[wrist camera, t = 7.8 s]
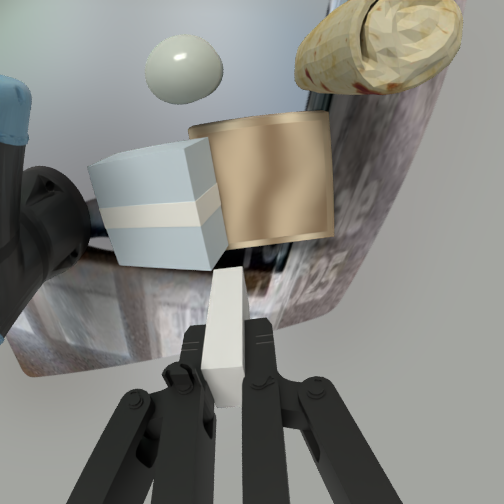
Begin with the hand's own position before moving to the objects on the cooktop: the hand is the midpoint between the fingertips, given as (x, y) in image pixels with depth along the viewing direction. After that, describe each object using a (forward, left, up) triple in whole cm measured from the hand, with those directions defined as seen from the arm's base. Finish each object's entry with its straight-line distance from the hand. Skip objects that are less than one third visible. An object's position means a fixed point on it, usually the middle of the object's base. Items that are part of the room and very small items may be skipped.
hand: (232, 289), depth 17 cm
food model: (+11, +13, -21) cm, 27 cm away
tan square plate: (+3, 0, -20) cm, 21 cm away
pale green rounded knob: (-3, +13, -20) cm, 24 cm away
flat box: (-8, 0, -18) cm, 20 cm away
